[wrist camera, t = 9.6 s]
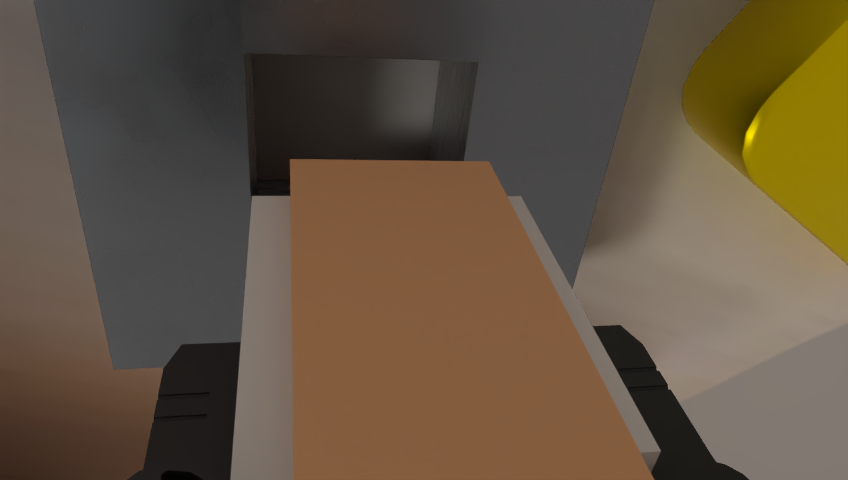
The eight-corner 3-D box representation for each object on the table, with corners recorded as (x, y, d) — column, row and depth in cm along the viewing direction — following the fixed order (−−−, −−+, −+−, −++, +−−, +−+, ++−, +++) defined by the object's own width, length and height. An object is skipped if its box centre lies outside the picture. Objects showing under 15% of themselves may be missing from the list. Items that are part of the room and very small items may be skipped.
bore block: (136, 286, 23) (114, 369, 20) (53, -193, 15) (-7, -183, 12) (521, 275, 26) (555, 347, 23) (614, -135, 18) (686, -114, 15)
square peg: (291, 316, 15) (298, 934, 7) (289, 159, 13) (298, 800, 5) (463, 310, 16) (644, 863, 8) (488, 161, 14) (777, 717, 6)
